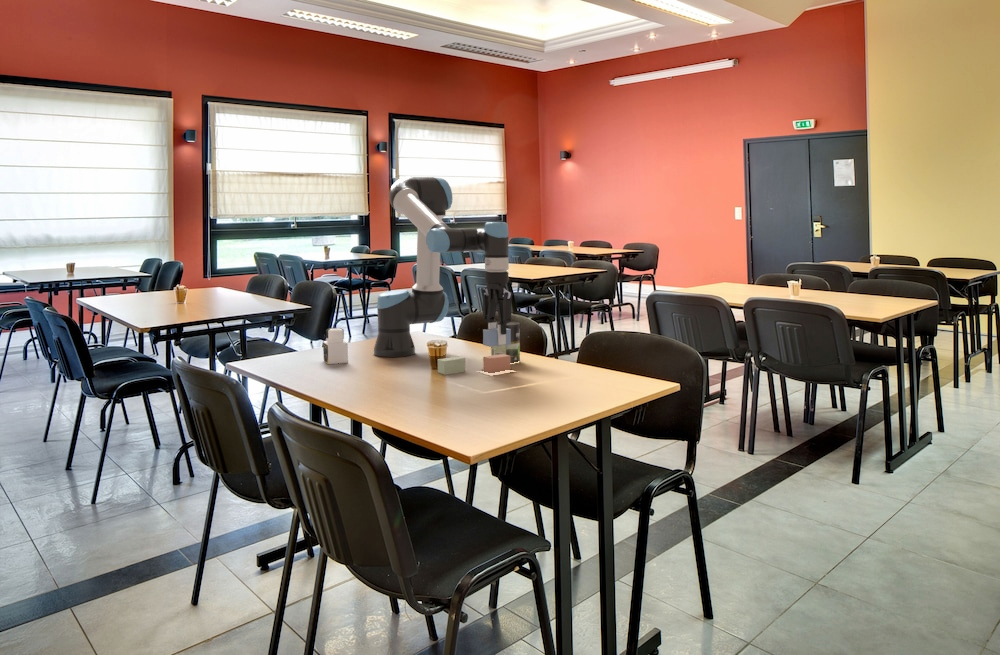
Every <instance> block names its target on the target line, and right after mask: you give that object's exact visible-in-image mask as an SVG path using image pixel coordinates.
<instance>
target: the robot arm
mask: <svg viewBox="0 0 1000 655" xmlns="http://www.w3.org/2000/svg"><path fill="white" fill-rule="evenodd" d="M388 199H389V204H390V205H391V207H392V209H394V210H395V211H396V212H397V213H398V214H401V215H404V217H406V218H407V219H408V220H409V221H410V222H411V223H412V224H413V225H414V226H415V227H416V228H417V236H416V237H417V240H416V241H417V242H416V247H417V248H416V274H415V275H416V277H415V278H416V280H415V281H416V282H415V284H414V285H413V286H411V293H410V291H409V290H408V289H394V290H393V289H392V290H388V291H384V292H382V293H380V294H379V295H378V297H377V305H376V308H377V331H378V332H377V337H376V340H375V344H374V346H373V355H374V356H376V357H384V358H398V357H399V358H400V357H401V358H403V357H409V356H412V355H414V354H416V346H415V343H414V341H413V338H412V335H411V328H410V327H411V326H410V325H417V324H433V323H438V322H441V321H443V320H444V319H445V317H446V316H447V314H448V312H449V307H450V306H449V305H450V303H449V299H448V298H449V296H448V295H447V293H446V292H445V291H444V287H443V286H442V285H441V284H440V272H441V271H440V269H441V268H440V267H441V266H440V265H441V254H443V253H458V252H459V253H460V252H461V253H467V252H472V253H473V252H484V270H485V272H484V282H485V284H487V286H486V288H485V289H481V296H482V312H483V313H482V317H483V320H484V321H486V323H487V329H496V322H497V320H496V312H497V316H498V322H499V323H498V345H502V344H506V325H507V323H510V322H512V297H513V291H508V288H507V284H508V283H509V272H508V270H509V267H510V266H509V263H510V262H509V240H510V239H509V236H510V234H509V225H508V223H507V222H505V221H496V222H495V221H493V222H491V221H487V222H485V223H484V228H483V227H482V228H481V227H472V228H468V227H465V228H464V227H463V228H459V227H458V228H451V227H450V226H448V225H447V223H445V222H444V221H443V218H444V217H446V211H447V210H448V211H449V210H450V208H451V207H452V205H453V192H452V188H451V186H450V184H449V182H448V181H447V180H445V179H444V178H442V177H436V176H432V177H431V176H430V177H429V176H427V177H426V176H423V177H422V176H404V177H401V178H399V179H397V180H396V181H395V182H393V184H392V185H391V187H390V189H389V192H388Z"/></svg>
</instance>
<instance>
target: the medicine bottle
mask: <svg viewBox="0 0 1000 655" xmlns="http://www.w3.org/2000/svg"><path fill="white" fill-rule="evenodd" d="M348 346H349V345H348V342H347V341H345V330H344V329H343V328H342V327H330V328H327V329H326V330H325V340H323V342H322V347H323V348H322V349H323V351H322V352H323V361H324V362H325V363H326V364H327V365H338V363H339V364H347V363H349V351H348V350H349V349H348V348H349V347H348Z"/></svg>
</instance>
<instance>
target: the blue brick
mask: <svg viewBox="0 0 1000 655" xmlns="http://www.w3.org/2000/svg"><path fill="white" fill-rule="evenodd" d="M482 337H483V338H482V345H483V346H486V347H489V348H491V347H492V346H502V345H511V329H507V328H506V344H502V345H498V328H496V329H488V328H487V329H482Z"/></svg>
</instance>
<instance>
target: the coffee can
mask: <svg viewBox="0 0 1000 655" xmlns="http://www.w3.org/2000/svg"><path fill="white" fill-rule="evenodd" d="M498 323H499V321H496V328H498ZM520 327H521V323H520V322H518V321H511V322H510V323H507V325H506V328H507V329H511V345H502V346H492V347H490V356H493V355H500V354H505V355H509V356H510V363H514V362H518V361H520V362H521V353H520V352H521V338H520V337H521V334H520V333H521V328H520Z"/></svg>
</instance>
